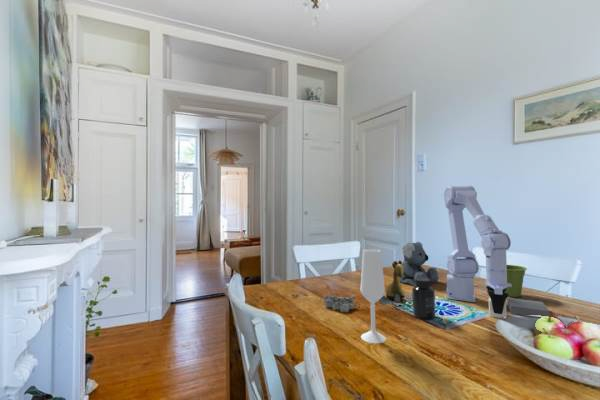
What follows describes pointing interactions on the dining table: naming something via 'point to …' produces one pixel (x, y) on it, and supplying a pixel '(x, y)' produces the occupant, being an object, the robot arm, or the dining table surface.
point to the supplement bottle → (423, 299)
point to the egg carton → (339, 303)
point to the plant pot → (515, 280)
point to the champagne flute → (372, 288)
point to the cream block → (495, 313)
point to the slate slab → (527, 307)
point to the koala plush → (416, 264)
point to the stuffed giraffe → (395, 287)
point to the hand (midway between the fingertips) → (497, 310)
